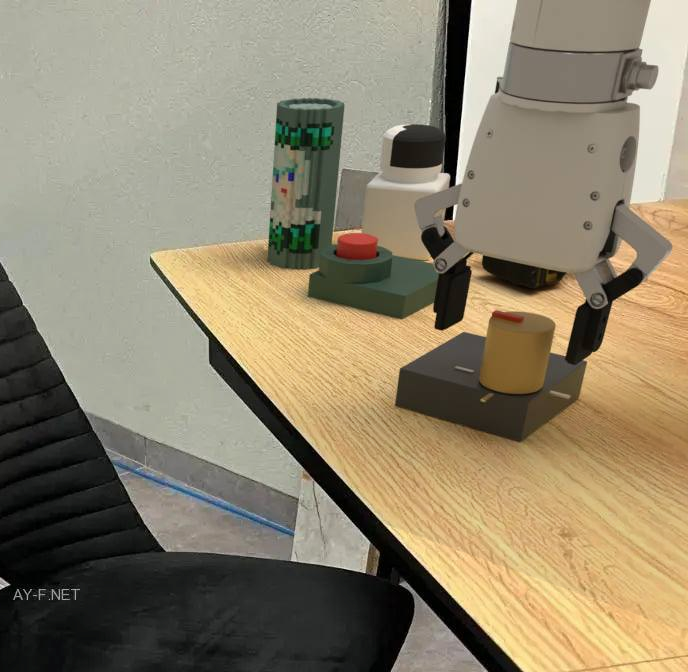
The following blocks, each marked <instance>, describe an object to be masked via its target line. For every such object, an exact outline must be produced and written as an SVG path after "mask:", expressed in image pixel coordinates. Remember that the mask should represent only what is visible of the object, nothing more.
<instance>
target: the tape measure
mask: <svg viewBox="0 0 688 672" xmlns="http://www.w3.org/2000/svg"><path fill="white" fill-rule="evenodd" d="M481 266H482V269H483V270H484V271H485V272H487V273H489V274H491V275H493V276H494V277H497V278H500V279H503V280H505V281H508V282H509V283H510V284H511V285H515V286H519V285H520V286H524V287H526V288H530V289H538V288H539V287H542V286H547V285H554V284H557V283H559V282H560V281H562V280H563V278H564V277H565V276H566V275H567V272H561V271H555V270H550V269H545V268H541V267H536V266H531V265H526V264H522V263H517V262H512V261H507V260H503V259H498V258H494V257H489V256H485V255H482V259H481Z"/></svg>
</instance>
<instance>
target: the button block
mask: <svg viewBox="0 0 688 672" xmlns="http://www.w3.org/2000/svg"><path fill="white" fill-rule="evenodd" d="M336 254H337V243H336V244H332V245H330V246H328V247H326V248H323V249H322V250H321V254H320V264H319V268H318V270H316V271H314V272H312V273H309V277H308V288H307V297H308V298H310V299H311V298H312V299H316V300H319V301H325V302H329V303H332V304H337V305H341V306H344V307H349V308H354V309H357V310H362V311H366V312H369V313H375V314H378V315H381V316H382V315H383V316H387V317H391V318H395V319H399V320H404V319H406V318H407V317H409V316H411V315H413V314H415V313H417V312H419V311H421V310H422V309H425V308H427V307H429V306H430V305H432V304H434V300H435V294H436V288H437V282H438V276H439V273H438V272H436V271H435V270H434V268H433V262H428V261H424V260H414V259H409V258H404V257H399V256H394V255H392V252H391V251H389V250H388V249H386V248H384V247H381V246H377V253H376V258H374V259H367V260H349V259H344V258H339V257H337V256H336Z"/></svg>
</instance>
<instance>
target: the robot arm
mask: <svg viewBox="0 0 688 672" xmlns="http://www.w3.org/2000/svg"><path fill="white" fill-rule="evenodd" d="M651 2H652V0H516V4H515V8H514V9H515V10H514V15H513V20H512V26H511V32H510V38H509V43H508V46H507V47H508V48H507V54H506V58H505V65H504V69H503V80H502V86H501V91H500V92H498V93H495V92H494V93H493V94H491V95H490V97H489V99H488V102H487V104H486V107H485V109H484V112H483V115H482V117H481V119H480V123H479V125H478V128H477V130H476V134H475V136H474V138H473V139H474V140H473V142H472V146H471V149H470V152H469V156H468V159H467V163H466V166H465V170H464V174H463V179H462V182H461V183H459V184H456V185H453V186H449V188H448V189H445V190H442V191H439V192H437V193H434V194H431V195H429V196H426V197H423V198H421V199H418V200H417V201H416V202H415V204H414V209H415V213H416V217H417V220H418V224H419V227H420V229H421V231H422V234H421V240H422V243H423V244H424V246H425V247H426V249H427V251H428V252H429V254H430V255H431V256H430V258H431V259H432V260H433V261H432V263H433V268H434V270H435V271H436V272H438V273H439V276H438V282H437V288H436V294H435V300H434V303H433V307H432V310H433V311H432V312H433V313H435V319H434V326H433V327H434V330H437V331H441V332H443V331H445V330H447V329H449V328H451V327H453V326H456V324H458V323H460V322H462V321H463V319H464V316H465V312H466V308H467V307H466V306H467V300H468V296H469V289H470V284H471V279H472V273H473V270H472V269H471V268H472V266H471V265H467V264H468V260H470V259H471V258H472V257H473V256H475V254H477V255H481V256H483V255H485V256H489V257H494V258H498V259H503V260H507V261H512V262H517V263H522V264H526V265H531V266H536V267H541V268H545V269H550V270H555V271H561V272H567V273H568V274H569V273H570V274H573V276H574V277H575V279H576V282H577V283H578V285H579V288H580V290H581V291H582V293H583V296H584V297H585V301H584V303H582V304H580V305H579V306H578V307H577V308H576V311H575V314H574V315H575V316H574V319H573V323H572V328H571V332H570V336H569V340H568V344H567V349H566V353H565V356H566V357H565V361H567V363H568V364H572V365H576V364H578V363H579V362H581V361H582V360H584V361H585V359H587V358H588V357H591V355H592V353H596V352H598V351H599V349H600V348H601V346H602V344H603V342H604V337H605V333H606V331H607V325H608V321H609V317H610V315H611V310H612V306H613V303H614V301H615V300H617V299H619V298H620V297H622V296H624V295H625V294H627V293H629V292H630V291H632V290H634V289H635V288H637V287H639V286H640V285H642V284H643V283H645V282H646V281H647V280H648V279H649V277H651V275H652V274H653V273H654V272H655V271H656V270H657V269H658V268H659V266H660V265H662V263H663V262H664V261H665V260H666V259H667V258H668V256H669V255H670V254H671V253H672V251H673V244H672V242H671V241H670V240H668V238H667V237H665V236H663V234H661V233H660V232H659V231H658V230H656V229H655V228H653V226H651V225H650V224H649V223H648V222H646V221H645V220H644V219H642V217H640V216H639V215H637V214H636V213H635V212H634V211H632V210H631V209H630V204H631V200H632V193H633V186H634V181H635V173H636V165H637V158H638V150H639V149H638V148H639V141H640V125H641V123H640V122H641V106H640V105H639V104H638V103H633V102H628V98H629V97H631V96H632V95H633V92H634V91H635V92H636V91H639V90H640V89H642V90H648V91H649V90H652V89H653V88H654V86H655V85H656V82H657V79H658V75H659V65H655V64H647V62H646V61H642V60H643V57H642V55H643V49H642V48H640V47H641V44H642V39H643V36H644V30H645V27H646V24H647V23H646V22H647V18H648V14H649V10H650V6H651ZM456 205H457V206H456ZM453 206H456V211H455V217H454V223H453V225H454V226H453V237H452V234H451V233H450V231H449V230H448V228H447V226H445V225H444V224H443V222H442V221H443V218H442V212H443V210H444V209H445V208H446V209H448V208H451V207H453ZM622 241H624V242H625V243H626V244H627V245H628V246H630V247H631V248H632V249H634V251H635V252H636V258H635V260H633V262H632V263H631V265H629V267H628V268H627V269H626V270H625V271H623V272H622V273H620V274H619V275H618V274H617V272H616V270H615V269H614V266H613V264H612V263H611V261H610V259H612V258H614V257H615V256H616V255H617V253H618V252H619V250H620V248H621V245H622ZM567 273H566V274H567Z"/></svg>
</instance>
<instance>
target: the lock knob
mask: <svg viewBox="0 0 688 672" xmlns="http://www.w3.org/2000/svg"><path fill="white" fill-rule="evenodd" d="M556 327H557V325H556V322H555V321H554V320H553V319H552V318H550V317H548V316H545V315H542V314H538V313H534V312H529V311H515V310H514V311H511V310H510V311H502V310H498V309H495V310H494V311H492V312H491V315H490V317H489V319H488V325H487V330H486V336H485V337H486V341H485V347H484V352H483V358H482V364H481V369H480V375H479V381H480V383H481V384H482V385H483V386H485V387H487V388H489V389H491V390H494V391H497V392H502V393H508V394H529V393H533V392H536V391H539V390H540V389H541V388H542V387H543V384H544V379H545V375H546V370H547V365H548V360H549V356H550V353H551V352H552V351H551V350H552V346H553V342H554V336H555V332H556Z"/></svg>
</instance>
